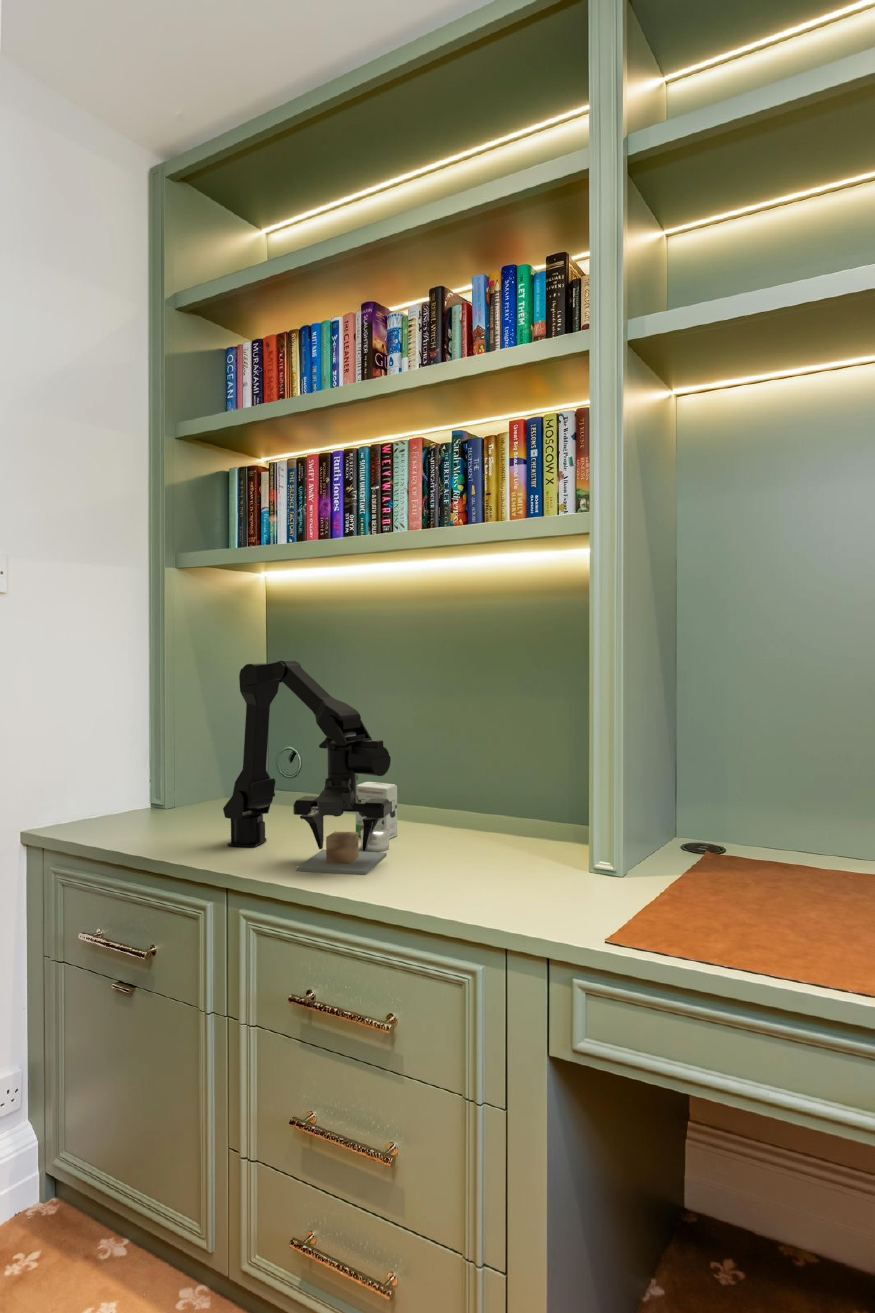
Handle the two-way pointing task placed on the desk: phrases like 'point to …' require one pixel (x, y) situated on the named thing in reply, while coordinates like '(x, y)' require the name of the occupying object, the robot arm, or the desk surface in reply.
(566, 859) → the desk surface
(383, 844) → the tin
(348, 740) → the robot arm
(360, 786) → the ink box
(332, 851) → the walnut block
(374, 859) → the mat
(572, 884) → the desk surface
